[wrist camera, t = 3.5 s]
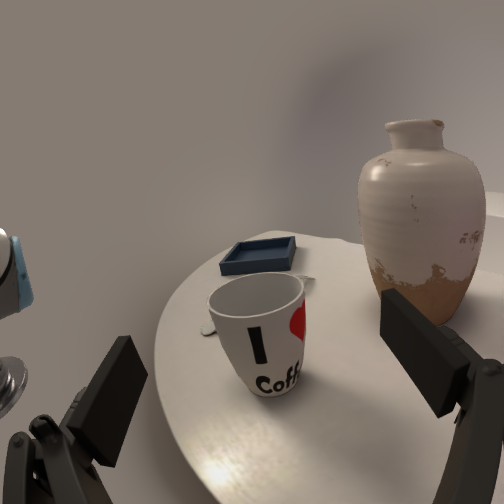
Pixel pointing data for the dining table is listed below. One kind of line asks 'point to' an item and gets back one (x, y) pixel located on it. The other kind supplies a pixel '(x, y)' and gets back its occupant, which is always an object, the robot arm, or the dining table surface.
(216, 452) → the dining table surface
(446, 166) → the vase
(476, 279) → the dining table surface
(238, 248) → the tray
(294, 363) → the cup
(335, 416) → the dining table surface
